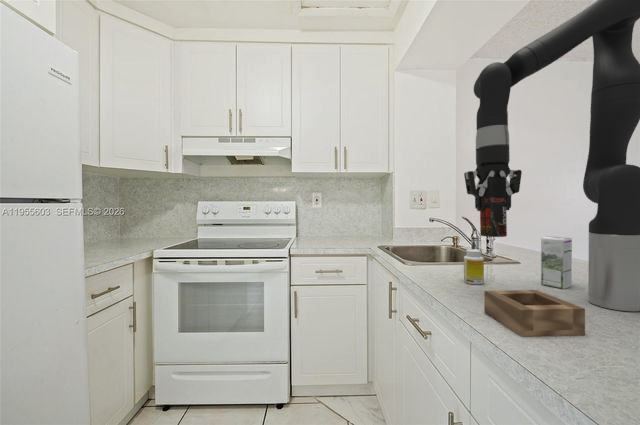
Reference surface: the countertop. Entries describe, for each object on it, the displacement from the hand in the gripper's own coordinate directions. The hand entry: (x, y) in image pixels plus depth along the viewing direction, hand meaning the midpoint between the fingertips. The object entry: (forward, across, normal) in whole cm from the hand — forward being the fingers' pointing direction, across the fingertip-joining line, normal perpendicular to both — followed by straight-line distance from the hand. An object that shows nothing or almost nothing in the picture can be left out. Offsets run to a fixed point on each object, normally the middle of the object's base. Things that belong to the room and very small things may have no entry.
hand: (492, 210), depth 76 cm
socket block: (+23, +2, +16) cm, 28 cm away
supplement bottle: (+23, -3, -15) cm, 28 cm away
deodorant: (+7, 0, 0) cm, 7 cm away
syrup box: (+23, -25, -10) cm, 36 cm away
